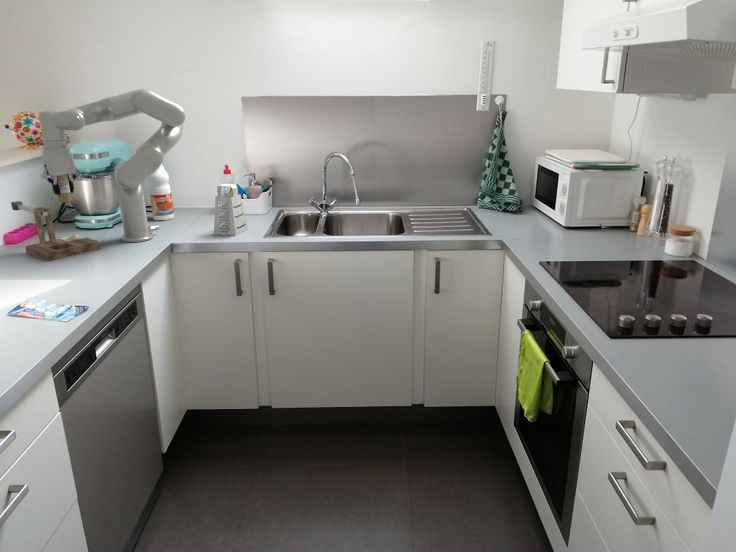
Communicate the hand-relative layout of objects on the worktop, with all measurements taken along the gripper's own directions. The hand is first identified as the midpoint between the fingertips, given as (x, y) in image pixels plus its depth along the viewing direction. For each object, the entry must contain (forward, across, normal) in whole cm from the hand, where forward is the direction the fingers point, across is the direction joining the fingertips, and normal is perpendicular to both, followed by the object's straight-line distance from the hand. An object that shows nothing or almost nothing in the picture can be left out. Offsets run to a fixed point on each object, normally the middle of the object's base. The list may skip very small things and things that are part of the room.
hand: (64, 192), depth 226 cm
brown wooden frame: (+21, +6, +4) cm, 22 cm away
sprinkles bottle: (+3, 0, 0) cm, 3 cm away
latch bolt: (+8, +8, -14) cm, 18 cm away
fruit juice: (+21, -48, -12) cm, 54 cm away
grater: (+21, -51, +34) cm, 65 cm away
